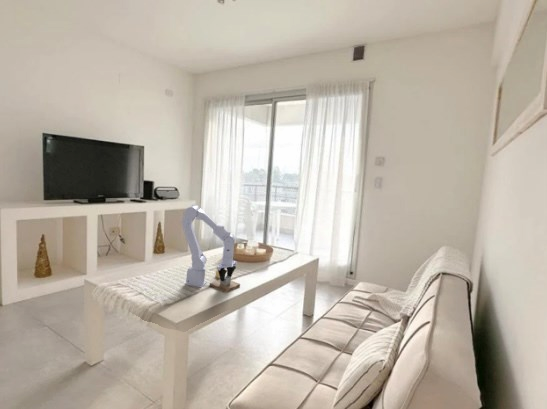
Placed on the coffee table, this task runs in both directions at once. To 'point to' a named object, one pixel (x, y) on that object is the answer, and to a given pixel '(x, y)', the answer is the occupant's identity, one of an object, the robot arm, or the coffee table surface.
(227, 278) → the grey block
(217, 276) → the mustard block
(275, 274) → the coffee table surface
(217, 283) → the walnut base
